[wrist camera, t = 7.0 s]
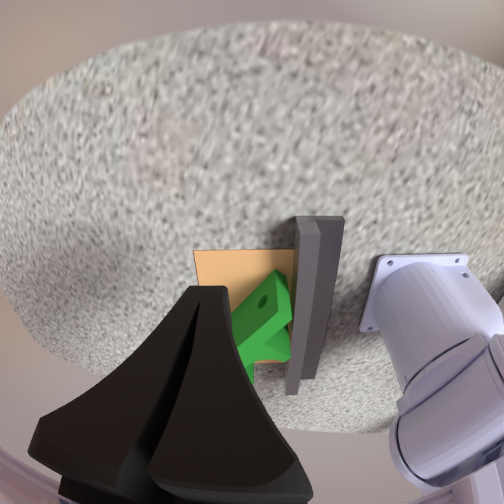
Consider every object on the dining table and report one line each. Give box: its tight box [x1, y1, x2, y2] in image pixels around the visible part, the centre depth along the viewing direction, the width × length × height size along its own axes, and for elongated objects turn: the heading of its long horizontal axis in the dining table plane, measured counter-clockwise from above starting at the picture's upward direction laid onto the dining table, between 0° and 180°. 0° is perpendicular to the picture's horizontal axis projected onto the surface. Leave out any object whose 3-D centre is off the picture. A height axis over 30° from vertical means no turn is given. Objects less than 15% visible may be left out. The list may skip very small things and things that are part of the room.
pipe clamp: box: [231, 269, 292, 384], centre depth 21 cm, size 11×4×5 cm, turn 143°
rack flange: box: [194, 216, 345, 395], centre depth 22 cm, size 10×18×2 cm, turn 2°
